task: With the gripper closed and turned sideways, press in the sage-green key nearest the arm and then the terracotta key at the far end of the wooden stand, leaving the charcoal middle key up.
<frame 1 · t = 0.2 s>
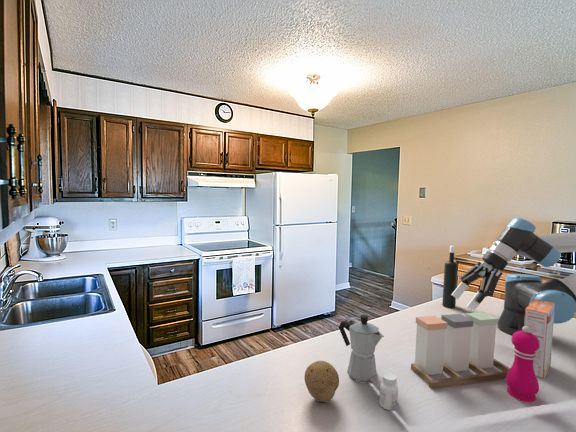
hand: (461, 302, 121), 15 cm above the countertop, tool tilted 35°, fingers open, 13 cm apart
coffee maker: (358, 373, 98), on the countertop
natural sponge: (321, 399, 85), on the countertop
pepper mill: (520, 399, 87), on the countertop
charcoal key: (455, 342, 100), point 9 cm above the countertop, slide at 0.0 cm
wooden stand: (458, 374, 99), on the countertop
terracotta key: (429, 345, 98), point 9 cm above the countertop, slide at 0.0 cm
cracker box: (535, 370, 102), on the countertop
wine bottle: (448, 306, 160), on the countertop
pill bottle: (388, 406, 84), on the countertop
sage key: (480, 340, 102), point 9 cm above the countertop, slide at 0.0 cm
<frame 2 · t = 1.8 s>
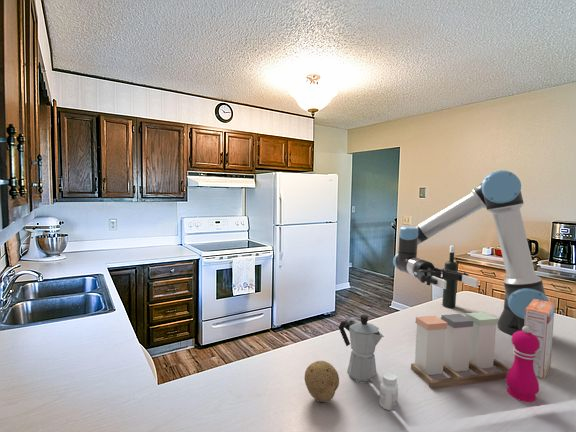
hand: (461, 284, 110), 24 cm above the countertop, tool horizontal, fingers open, 12 cm apart
nothing on the countertop moved.
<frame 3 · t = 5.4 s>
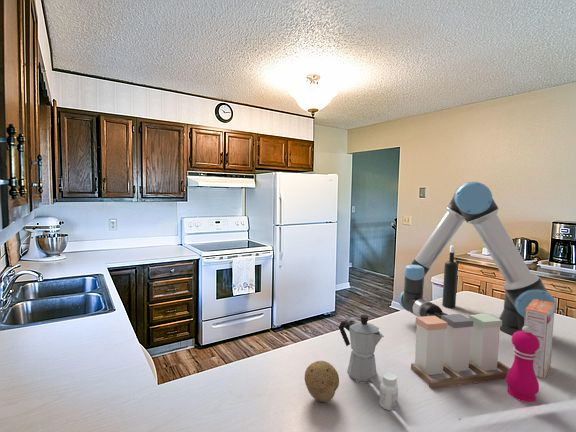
hand: (475, 338, 103), 9 cm above the countertop, tool horizontal, fingers closed
sage key: (483, 342, 101), point 9 cm above the countertop, slide at 1.4 cm, touching gripper
everything else where it was.
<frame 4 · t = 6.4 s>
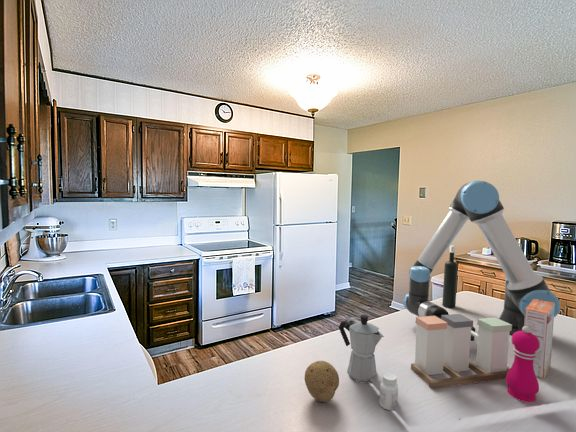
hand: (484, 343, 100), 9 cm above the countertop, tool horizontal, fingers closed
sage key: (492, 347, 98), point 9 cm above the countertop, slide at 4.6 cm, touching gripper
everything else where it was.
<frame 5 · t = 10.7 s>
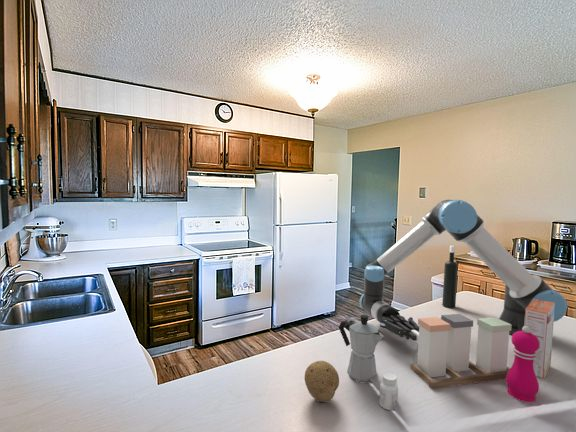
hand: (425, 343, 99), 9 cm above the countertop, tool horizontal, fingers closed
terracotta key: (432, 346, 97), point 9 cm above the countertop, slide at 1.1 cm, touching gripper
sage key: (492, 346, 98), point 9 cm above the countertop, slide at 4.5 cm
everything else where it was.
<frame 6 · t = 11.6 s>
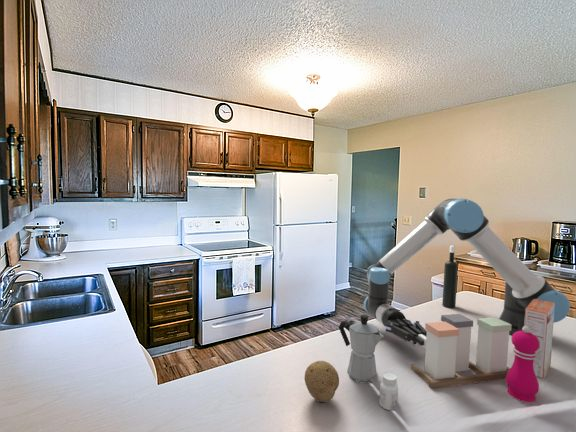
hand: (433, 348, 96), 9 cm above the countertop, tool horizontal, fingers closed
terracotta key: (440, 352, 93), point 9 cm above the countertop, slide at 4.6 cm, touching gripper
everything else where it was.
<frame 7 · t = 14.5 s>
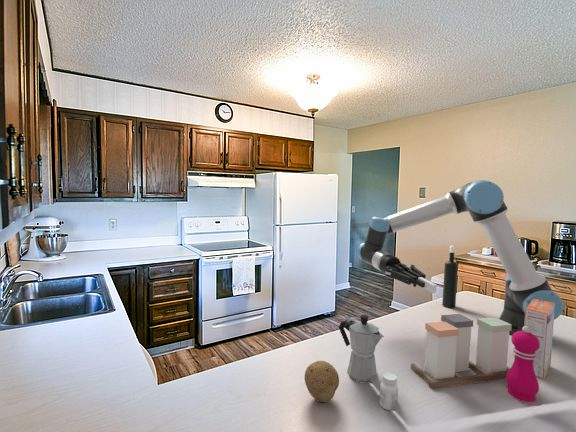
hand: (434, 288, 105), 24 cm above the countertop, tool horizontal, fingers closed
terracotta key: (440, 352, 93), point 9 cm above the countertop, slide at 4.5 cm
everything else where it was.
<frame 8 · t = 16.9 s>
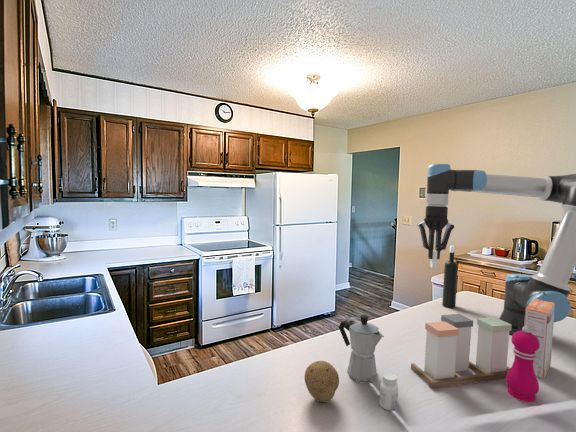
hand: (433, 267, 125), 26 cm above the countertop, tool pointing down, fingers closed
nothing on the countertop moved.
at the end: sage key slide at 4.5 cm; terracotta key slide at 4.5 cm; charcoal key slide at 0.0 cm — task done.
